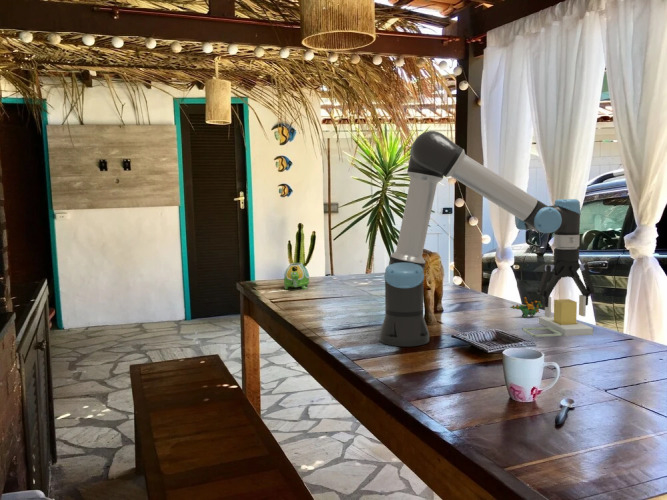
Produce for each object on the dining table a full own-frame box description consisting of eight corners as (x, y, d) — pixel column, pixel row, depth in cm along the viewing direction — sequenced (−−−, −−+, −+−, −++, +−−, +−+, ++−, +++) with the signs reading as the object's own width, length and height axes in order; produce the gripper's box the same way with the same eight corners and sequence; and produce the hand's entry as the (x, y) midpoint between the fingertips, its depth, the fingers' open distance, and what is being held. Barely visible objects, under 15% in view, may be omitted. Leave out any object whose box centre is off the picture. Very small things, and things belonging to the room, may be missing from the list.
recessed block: (564, 339, 177) (565, 329, 177) (538, 325, 195) (538, 316, 195) (593, 337, 178) (593, 328, 178) (564, 324, 196) (564, 315, 195)
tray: (534, 339, 177) (534, 335, 177) (521, 332, 186) (522, 328, 186) (562, 338, 178) (562, 333, 177) (548, 331, 186) (549, 327, 186)
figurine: (544, 320, 203) (544, 297, 202) (511, 321, 202) (511, 298, 201) (540, 318, 206) (540, 295, 205) (507, 319, 205) (508, 296, 204)
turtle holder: (280, 292, 269) (280, 266, 268) (285, 286, 287) (285, 262, 286) (307, 292, 269) (306, 266, 268) (310, 285, 287) (310, 261, 286)
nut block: (561, 330, 184) (561, 302, 183) (553, 327, 189) (554, 299, 188) (576, 330, 184) (576, 302, 183) (568, 326, 189) (568, 299, 188)
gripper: (536, 250, 179) (535, 320, 181) (608, 248, 181) (606, 317, 183) (526, 247, 186) (525, 315, 189) (595, 245, 188) (593, 312, 191)
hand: (565, 316), depth 186 cm, fingers open, 11 cm apart
